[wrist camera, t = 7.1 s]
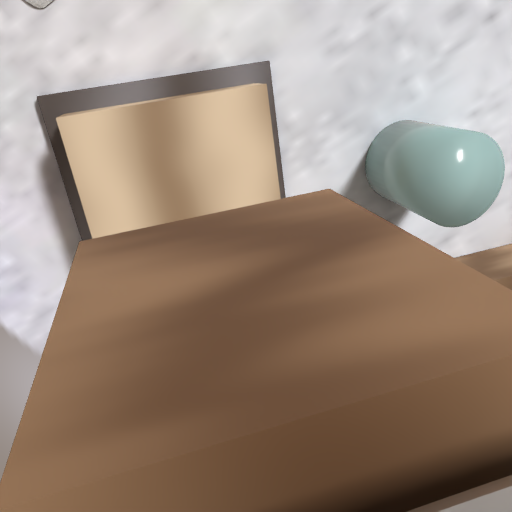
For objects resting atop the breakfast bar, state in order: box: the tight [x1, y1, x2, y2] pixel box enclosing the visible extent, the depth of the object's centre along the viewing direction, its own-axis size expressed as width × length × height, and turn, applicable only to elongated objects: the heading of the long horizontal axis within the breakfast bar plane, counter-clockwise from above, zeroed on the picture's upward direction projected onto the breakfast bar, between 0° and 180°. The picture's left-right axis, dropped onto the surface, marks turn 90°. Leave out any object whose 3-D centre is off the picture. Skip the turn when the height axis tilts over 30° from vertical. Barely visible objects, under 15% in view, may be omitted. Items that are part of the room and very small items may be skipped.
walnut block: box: [0, 189, 512, 512], centre depth 9 cm, size 6×6×7 cm
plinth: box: [37, 61, 285, 241], centre depth 25 cm, size 12×12×3 cm
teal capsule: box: [365, 120, 505, 227], centre depth 26 cm, size 5×5×6 cm
